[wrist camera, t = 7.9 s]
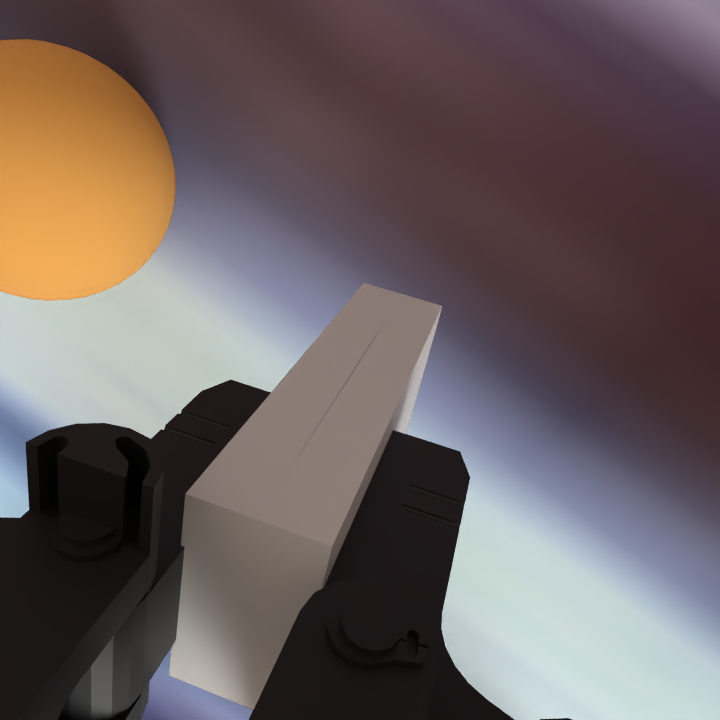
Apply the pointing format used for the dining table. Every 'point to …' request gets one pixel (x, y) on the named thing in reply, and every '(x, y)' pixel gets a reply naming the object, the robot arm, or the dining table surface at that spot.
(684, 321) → the dining table surface
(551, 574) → the dining table surface
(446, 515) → the robot arm
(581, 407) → the dining table surface
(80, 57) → the ball
